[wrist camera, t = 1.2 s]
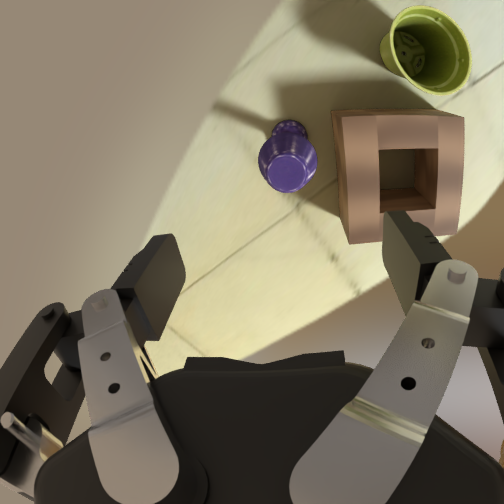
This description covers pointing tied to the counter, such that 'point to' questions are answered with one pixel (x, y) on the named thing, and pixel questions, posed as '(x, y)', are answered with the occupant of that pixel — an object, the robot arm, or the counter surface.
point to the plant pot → (427, 50)
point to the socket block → (425, 176)
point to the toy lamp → (287, 157)
